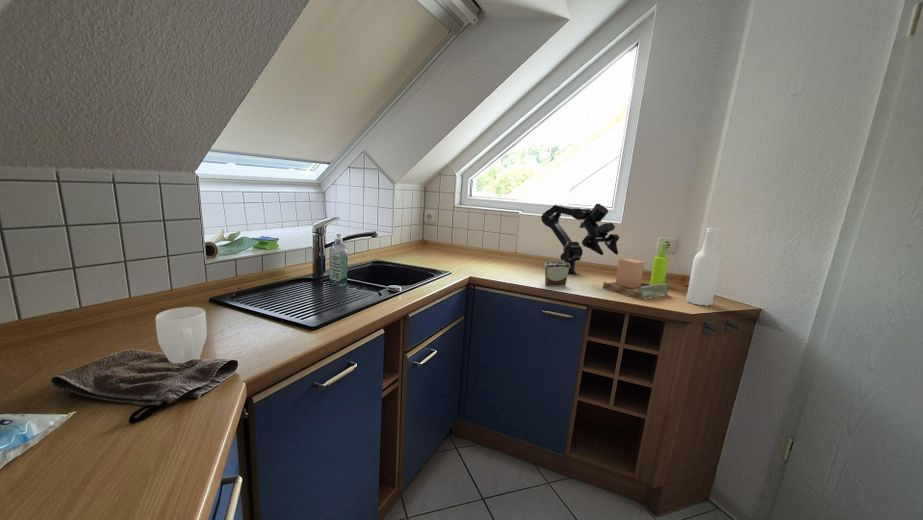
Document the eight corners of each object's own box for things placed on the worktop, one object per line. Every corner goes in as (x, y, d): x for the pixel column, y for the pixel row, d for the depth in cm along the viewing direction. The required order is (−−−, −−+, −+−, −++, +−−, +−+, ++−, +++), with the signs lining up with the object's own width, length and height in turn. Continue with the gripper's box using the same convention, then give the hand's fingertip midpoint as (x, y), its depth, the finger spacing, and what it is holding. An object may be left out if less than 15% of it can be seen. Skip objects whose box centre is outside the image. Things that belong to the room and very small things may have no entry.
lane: (602, 288, 164) (604, 277, 163) (629, 284, 174) (630, 273, 173) (640, 299, 149) (642, 287, 148) (666, 295, 159) (668, 283, 158)
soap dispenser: (666, 285, 177) (673, 243, 173) (661, 287, 172) (669, 244, 168) (652, 282, 181) (659, 241, 177) (648, 284, 176) (655, 242, 172)
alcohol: (710, 302, 151) (725, 228, 145) (712, 308, 144) (728, 230, 138) (685, 298, 155) (698, 226, 149) (686, 303, 148) (700, 227, 142)
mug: (158, 362, 80) (153, 311, 77) (205, 352, 85) (201, 304, 83) (165, 386, 71) (159, 329, 69) (216, 373, 77) (212, 320, 75)
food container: (560, 282, 171) (563, 260, 169) (568, 285, 165) (571, 263, 163) (536, 282, 167) (538, 260, 165) (543, 286, 161) (546, 263, 159)
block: (615, 283, 166) (619, 258, 164) (624, 282, 169) (627, 258, 167) (631, 287, 159) (635, 262, 157) (640, 286, 162) (644, 261, 160)
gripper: (588, 216, 167) (605, 243, 159) (617, 217, 175) (636, 242, 167) (574, 233, 175) (590, 259, 167) (603, 233, 183) (620, 257, 175)
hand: (610, 254), depth 169 cm, fingers open, 9 cm apart
